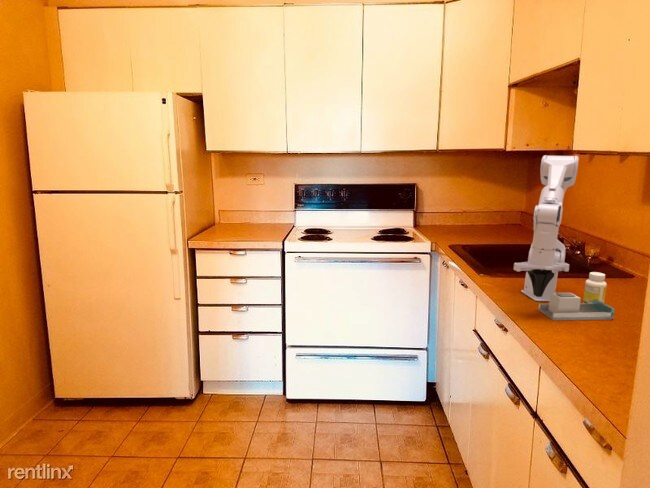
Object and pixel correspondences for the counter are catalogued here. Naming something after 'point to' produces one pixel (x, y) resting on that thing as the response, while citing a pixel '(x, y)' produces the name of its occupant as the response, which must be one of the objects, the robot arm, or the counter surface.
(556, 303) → the block
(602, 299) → the supplement bottle
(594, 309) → the rail plate
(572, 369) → the counter surface
